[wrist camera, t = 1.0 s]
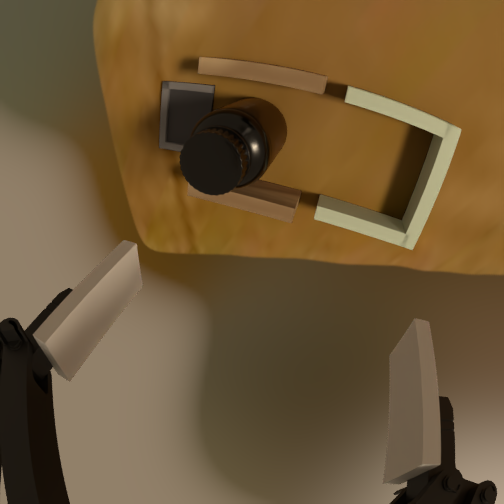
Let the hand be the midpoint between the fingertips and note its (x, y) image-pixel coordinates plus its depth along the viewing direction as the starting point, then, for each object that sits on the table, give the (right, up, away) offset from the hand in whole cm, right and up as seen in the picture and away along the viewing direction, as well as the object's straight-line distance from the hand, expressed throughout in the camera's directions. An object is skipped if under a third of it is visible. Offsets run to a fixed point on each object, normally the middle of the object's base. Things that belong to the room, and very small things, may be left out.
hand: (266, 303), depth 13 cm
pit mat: (-8, +17, +17) cm, 25 cm away
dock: (+12, +11, +14) cm, 22 cm away
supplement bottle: (0, +15, +16) cm, 22 cm away
